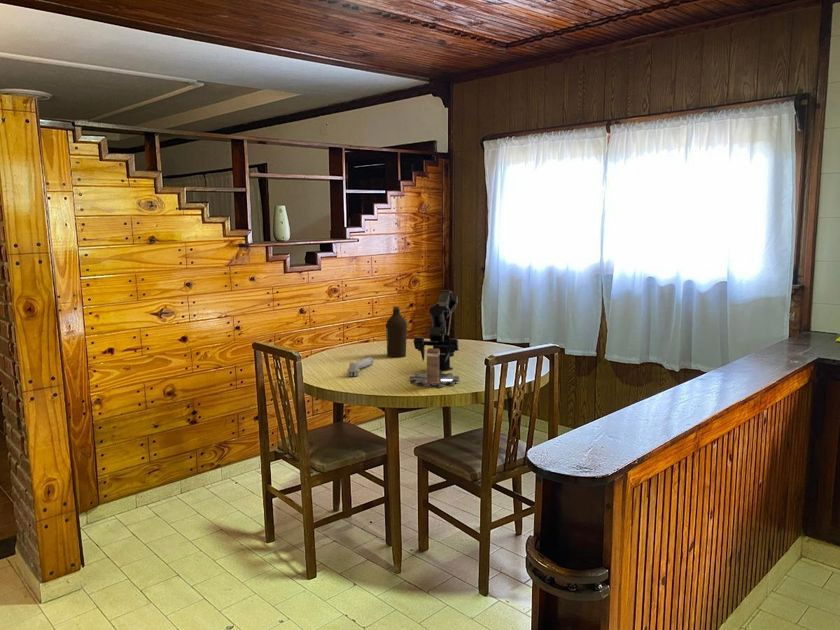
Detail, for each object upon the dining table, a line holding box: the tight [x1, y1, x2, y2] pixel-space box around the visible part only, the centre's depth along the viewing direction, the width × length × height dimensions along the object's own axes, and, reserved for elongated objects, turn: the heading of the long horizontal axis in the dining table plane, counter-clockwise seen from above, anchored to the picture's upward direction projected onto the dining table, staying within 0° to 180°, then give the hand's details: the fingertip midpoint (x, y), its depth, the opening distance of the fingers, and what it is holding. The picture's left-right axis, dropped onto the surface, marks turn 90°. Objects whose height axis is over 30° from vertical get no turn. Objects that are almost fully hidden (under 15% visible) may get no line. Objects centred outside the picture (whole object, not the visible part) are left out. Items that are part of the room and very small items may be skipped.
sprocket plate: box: [408, 371, 460, 389], centre depth 264 cm, size 21×21×2 cm
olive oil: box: [385, 305, 408, 359], centre depth 311 cm, size 11×11×25 cm
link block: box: [426, 347, 440, 382], centre depth 258 cm, size 5×5×13 cm
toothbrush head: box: [346, 356, 374, 377], centre depth 282 cm, size 5×7×25 cm
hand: (433, 360), depth 259 cm, fingers open, 9 cm apart
